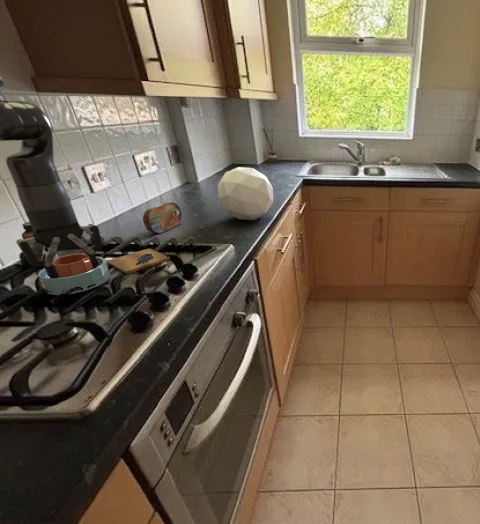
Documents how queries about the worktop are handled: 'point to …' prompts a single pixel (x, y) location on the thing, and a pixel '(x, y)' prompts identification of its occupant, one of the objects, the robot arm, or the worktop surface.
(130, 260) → the board
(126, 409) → the worktop surface
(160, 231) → the tin
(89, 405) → the worktop surface
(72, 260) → the small bowl
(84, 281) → the big bowl
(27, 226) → the supplement bottle
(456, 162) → the worktop surface
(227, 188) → the ball
